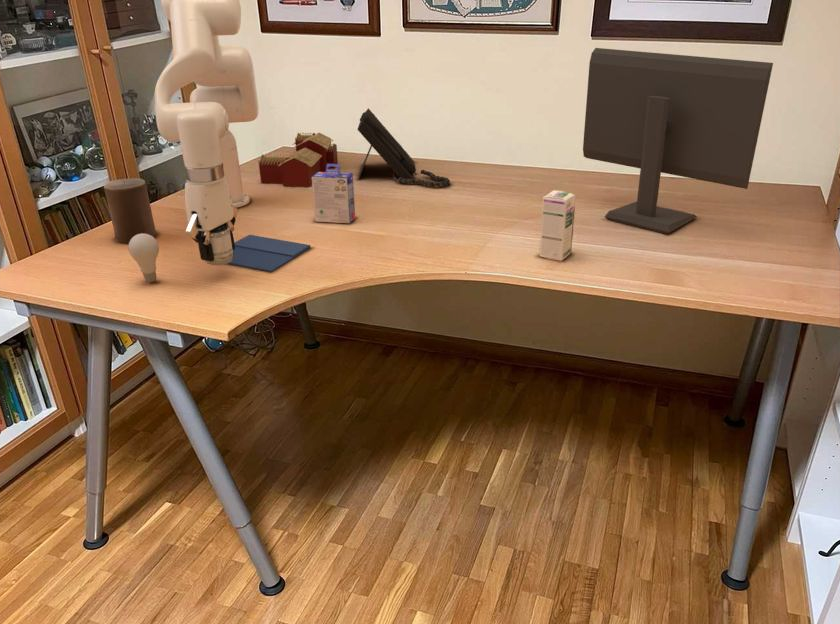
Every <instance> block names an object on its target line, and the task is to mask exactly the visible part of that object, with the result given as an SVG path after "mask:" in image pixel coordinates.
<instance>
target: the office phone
mask: <svg viewBox="0 0 840 624" xmlns="http://www.w3.org/2000/svg"><path fill="white" fill-rule="evenodd" d="M357 131H358V133H360V135H361V136H362V137H363V138H364V139H365V140H366V141H367V143H369V145H370V147H369V148H368V151H367V153H366V156H365V158H364V160H363V163H362V166H361V170H360V173H359V177H358V178H360V177H361V175H362V172H363V169H364V167H365V165H366V162H367V160H368V157H369V155H370V153H371V150H372V148H373V150H375V152H376V153H377V154H378V155H379V156H380V157H381V158H382V160H384V162H385V163H386V164H387V165H388V166H389V167H390V168H391V170H392V171H393V173H392V174H393V180H395V181H396V182H399V183H401V185H402V184H403V185H404V184H406V185H408V184H409V185H412V184H413V185H416V184H417V185H422V186H423V185H425V186H426V187H427V186H429V187H432V188H435V187H436V188H440V187H448V186H449V185H450V182H451V180H450V179H449V178H448V177H445V176H440V175H436V174H434V173H433V172H430V171H429V170H428V171H427V170H425V169H421V170H420V173H416V172H417V169H416V164H415V160H414V159H413V158H412V156H411V155H410V154H408V152H407V151H406V150H405V149H404V148H403V146H402V145H401V144H400V142H398V141H397V139H396V138H395V137H394V136H393V135H392V134H391V133H390V131H389V130H388V129H387V127H386V126H384V125H383V124H382V122H381V121H380V120H379V119H378V116H377V117H376V115H375V114H374V113H373V111H372V110H371V109H370V107H369V108H367V109H366V111H364V112H362V114H361V116H360V118H359V123H358V127H357ZM395 174H396V175H397V176H398V178H397V177H396V176H395ZM414 175H422V176H427V177H428V178H430V179H431V180H433V181H431V180H425V179H420V178H418V179H417V178H414Z"/></svg>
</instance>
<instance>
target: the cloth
mask: <svg viewBox="0 0 840 624" xmlns="http://www.w3.org/2000/svg"><path fill="white" fill-rule="evenodd" d="M234 244H235V249H234V250H233V256H232V258H233V259H232V261H231V262H229V263H227V264H226V265H232V266H235V267H241V268H245V269H246V268H247V269H252V270H258V271H262V272H268V273H273V272H274V271H276V270H277V269H280V268H282V267H283V266H285V265H286V264H287V263H289V262H290V261H292V260H294V259H295V258H297V257H299V256H300V255H302V254H303V253H305V252H306V251H309V250H310V249H311V244H308V243H307V244H305V243H300V242H295V241H289V240H285V239H284V240H283V239H279V238H272V237H265V236H260V235H254V234H247V235H246V236H244V237H242V238H241V239H240V238H239V240H236V241H234Z"/></svg>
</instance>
